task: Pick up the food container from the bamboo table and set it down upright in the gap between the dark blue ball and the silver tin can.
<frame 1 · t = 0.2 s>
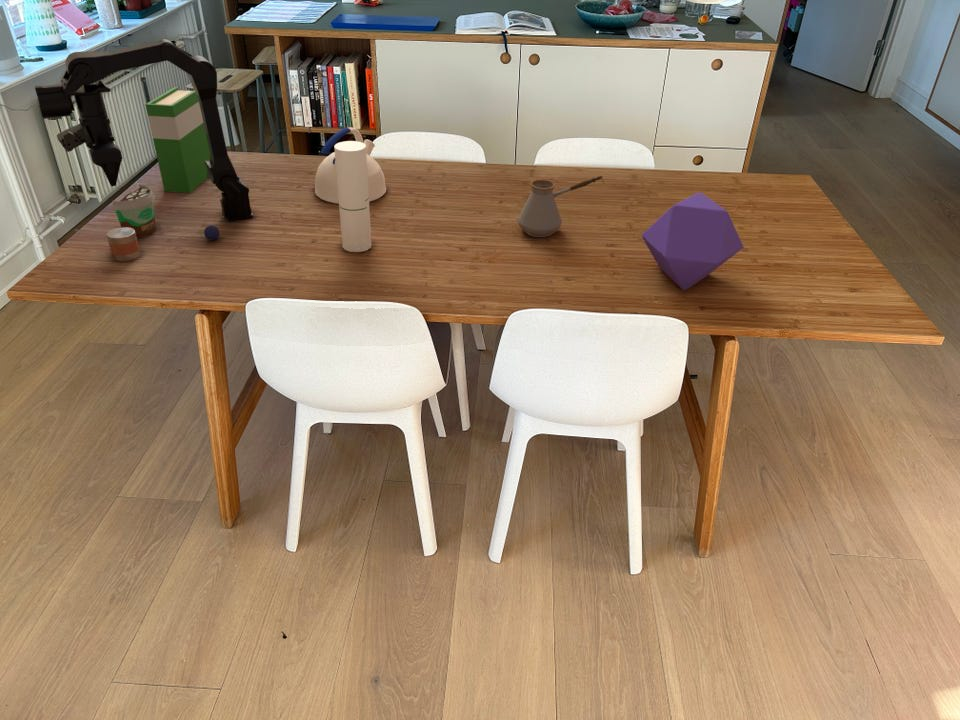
hand: (110, 179, 177), 14 cm above the table, tool pointing down, fingers open, 9 cm apart
food container: (146, 232, 187), on the table
coffee pot: (557, 231, 195), on the table
tin can: (126, 255, 176), on the table
cylindrical container: (357, 246, 184), on the table
kettle: (351, 191, 213), on the table
hardback book: (190, 181, 216), on the table
blue ball: (212, 239, 184), on the table
purple faceted block: (684, 278, 175), on the table
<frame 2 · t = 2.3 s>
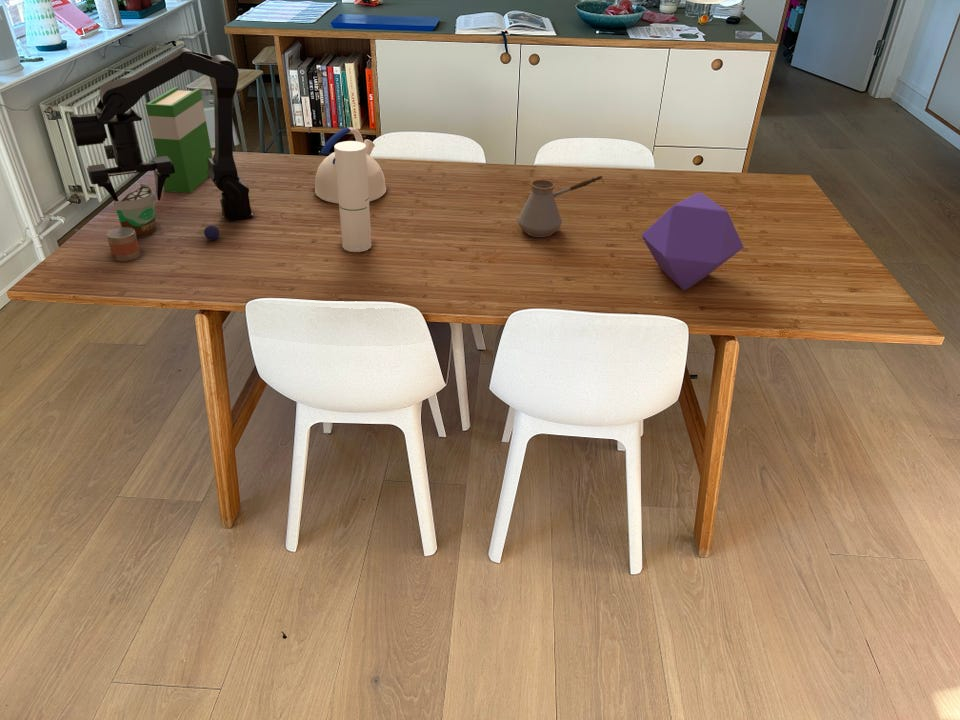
hand: (139, 203, 183), 7 cm above the table, tool pointing down, fingers open, 9 cm apart
food container: (146, 231, 187), on the table, touching gripper
everything else where it was.
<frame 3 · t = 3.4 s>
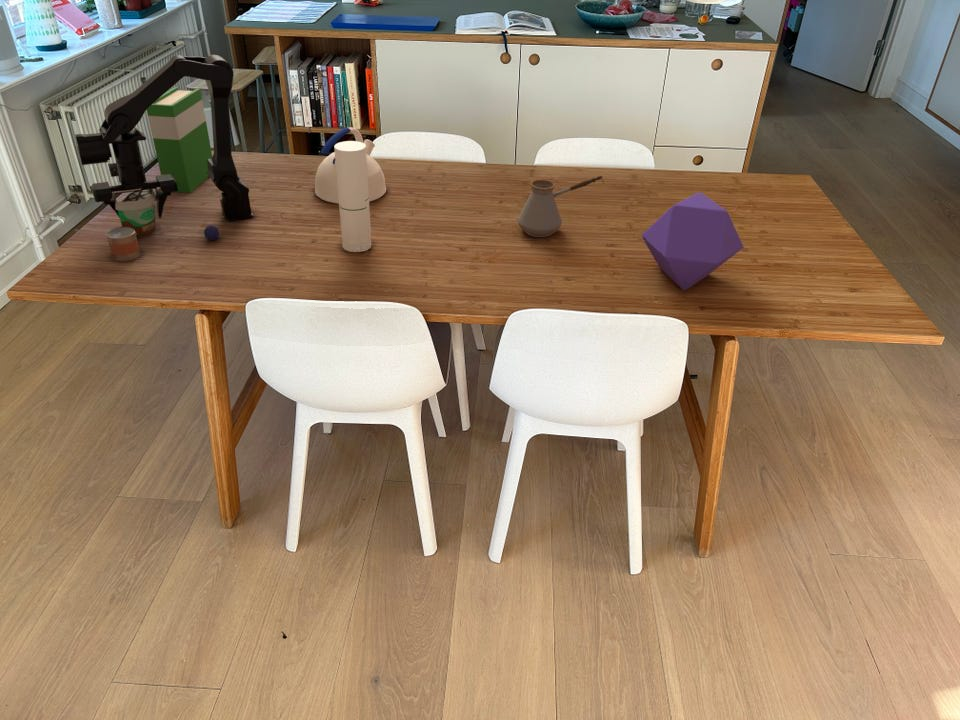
hand: (142, 220, 185), 3 cm above the table, tool pointing down, fingers closed on food container, 8 cm apart
food container: (146, 231, 187), on the table, touching gripper
everything else where it was.
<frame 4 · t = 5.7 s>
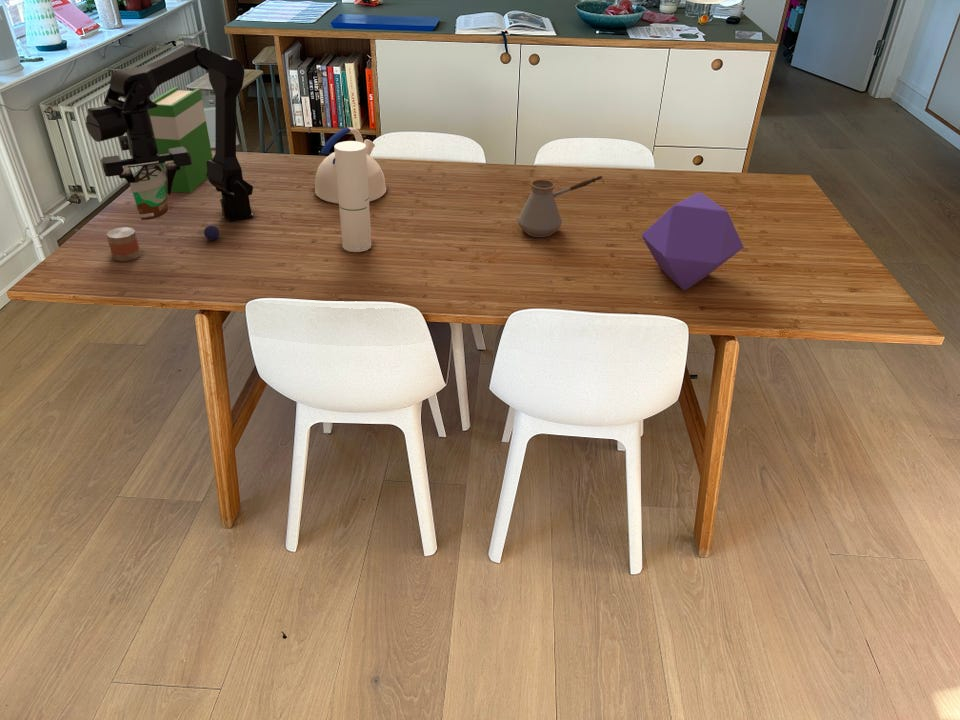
hand: (155, 196, 176), 12 cm above the table, tool pointing down, fingers closed on food container, 6 cm apart
food container: (159, 210, 177), point 9 cm above the table, touching gripper
everything else where it was.
when the fingers open (4 cm above the table, at t = 8.3 s): food container stays where it is, on the table.
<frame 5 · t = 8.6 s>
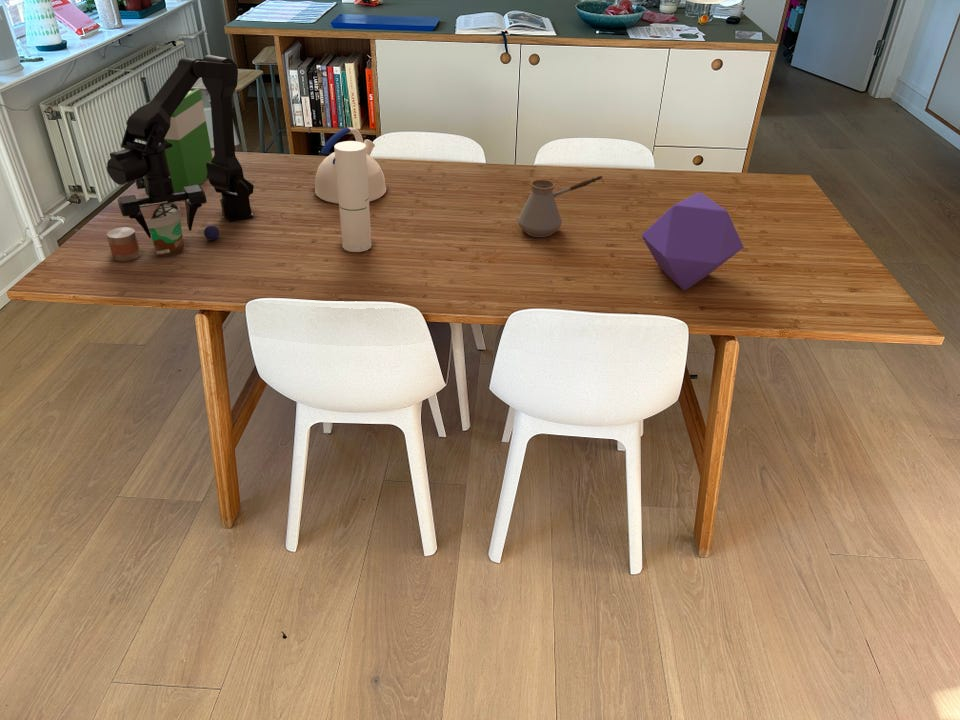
hand: (170, 233, 178), 4 cm above the table, tool pointing down, fingers open, 9 cm apart
food container: (175, 248, 180), on the table
everything else where it was.
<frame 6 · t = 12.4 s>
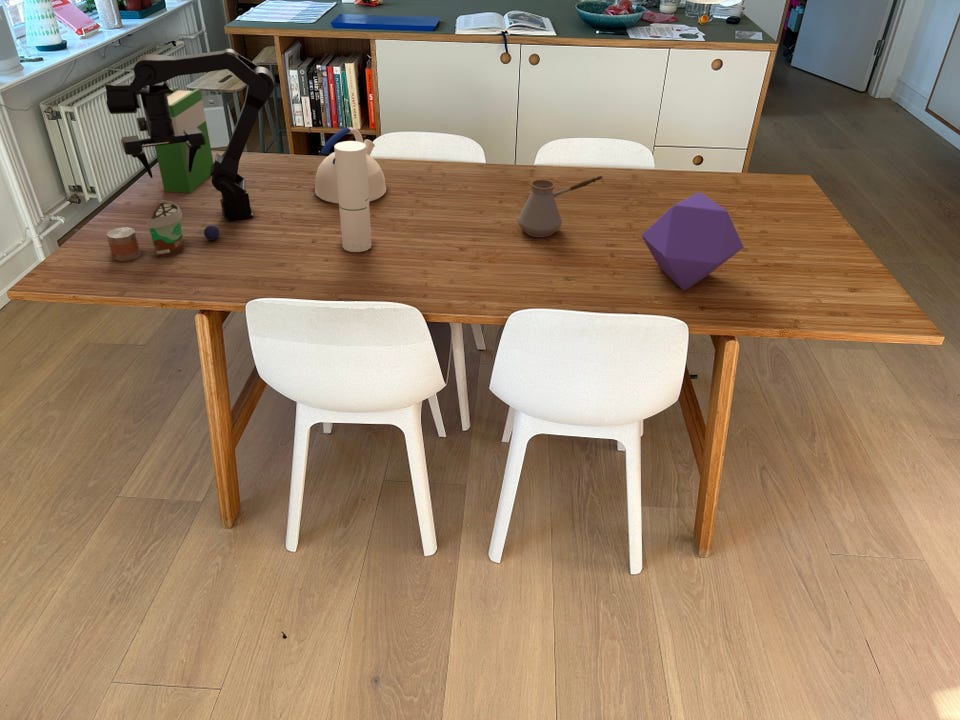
hand: (170, 174, 187), 12 cm above the table, tool pointing down, fingers open, 9 cm apart
nothing on the table moved.
at the end: food container inside the target area (1.0 cm from its centre), on the table; food container tilted 0°; blue ball moved 0.0 cm from its start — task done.
